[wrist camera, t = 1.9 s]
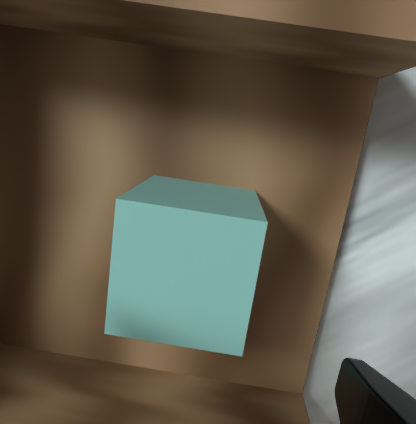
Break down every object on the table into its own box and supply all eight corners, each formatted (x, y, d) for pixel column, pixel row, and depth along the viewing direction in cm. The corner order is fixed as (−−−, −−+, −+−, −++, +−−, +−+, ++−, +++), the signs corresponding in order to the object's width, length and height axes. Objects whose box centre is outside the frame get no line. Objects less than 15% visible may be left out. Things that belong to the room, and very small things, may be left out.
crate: (-39, 345, 21) (-164, 446, 15) (-46, -7, 17) (-230, -97, 10) (295, 401, 21) (326, 533, 14) (378, 53, 16) (482, 1, 10)
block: (143, 269, 19) (104, 333, 13) (153, 174, 18) (115, 198, 12) (238, 284, 19) (242, 356, 13) (255, 190, 17) (267, 221, 12)
